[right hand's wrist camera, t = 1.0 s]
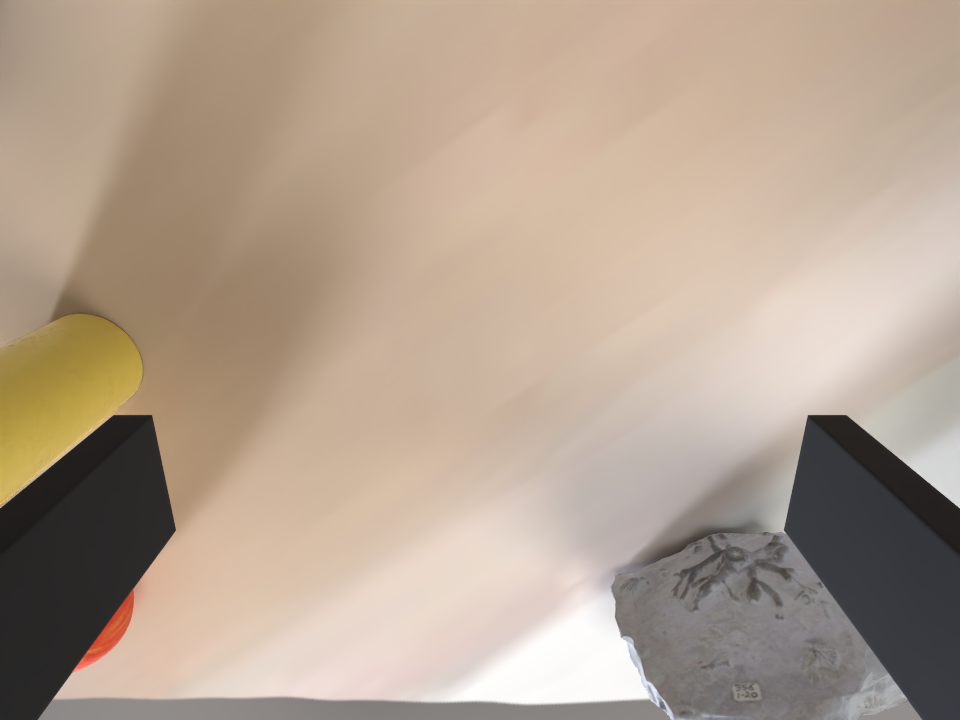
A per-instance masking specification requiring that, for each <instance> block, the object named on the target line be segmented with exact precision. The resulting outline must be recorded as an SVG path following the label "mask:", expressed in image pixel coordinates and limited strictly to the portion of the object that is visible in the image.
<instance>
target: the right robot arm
mask: <svg viewBox="0 0 960 720" xmlns="http://www.w3.org/2000/svg"><path fill="white" fill-rule="evenodd" d="M175 531H176V528H175V523H174V519H173V514H172V509H171V504H170V499H169V495H168V490H167V485H166V480H165V475H164V471H163V466H162V461H161V456H160V451H159V446H158V442H157V437H156V432H155V427H154V422H153V418H152V415H113V416H112V417H111V418H110V419H109V420H107V421H106V422H105V423H104V424H102V425H101V426H100V427H99V428H98V429H96V430H95V431H94V432H93V433H92V434H90V435H89V436H88V437H87V438H85V439H84V440H83V441H82V442H81V443H79V444H78V445H77V446H76V447H74V448H73V449H72V450H71V451H70V452H68V453H67V454H66V455H65V456H64V457H62V458H61V459H60V460H59V461H57V462H56V463H55V464H54V465H53V466H51V467H50V468H49V469H48V470H47V471H45V472H44V473H43V474H42V475H40V476H39V477H38V478H37V479H36V480H34V481H33V482H32V483H31V484H29V485H28V486H27V487H26V488H25V489H23V490H22V491H21V492H20V493H19V494H17V495H16V496H15V497H14V498H12V499H11V500H10V501H9V502H8V503H6V504H5V505H4V506H3V507H2V508H0V720H38V718H39V717H40V716H41V714H42V713H43V711H44V710H45V709H46V707H47V706H48V705H49V703H50V702H51V701H52V699H53V698H54V696H55V695H56V694H57V692H58V691H59V690H60V688H61V687H62V686H63V684H64V683H65V681H66V680H67V679H68V677H69V676H70V675H71V673H72V672H73V670H74V669H75V668H76V666H77V665H78V664H79V662H80V661H81V660H82V658H83V657H84V655H85V654H86V653H87V651H88V650H89V649H90V647H91V646H92V644H93V643H94V642H95V640H96V639H97V638H98V636H99V635H100V634H101V632H102V631H103V629H104V628H105V627H106V625H107V624H108V623H109V621H110V620H111V618H112V617H113V616H114V614H115V613H116V612H117V610H118V609H119V608H120V606H121V605H122V603H123V602H124V601H125V599H126V598H127V597H128V595H129V594H130V592H131V591H132V590H133V588H134V587H135V586H136V584H137V583H138V582H139V580H140V579H141V577H142V576H143V575H144V573H145V572H146V571H147V569H148V568H149V566H150V565H151V564H152V562H153V561H154V560H155V558H156V557H157V556H158V554H159V553H160V551H161V550H162V549H163V547H164V546H165V545H166V543H167V542H168V540H169V539H170V538H171V536H172V535H173V534H174V532H175ZM784 531H785V532H786V534H787V535H788V536H789V538H790V539H791V540H792V542H793V543H794V545H795V546H796V547H797V549H798V550H799V551H800V553H801V554H802V556H803V557H804V558H805V560H806V561H807V562H808V564H809V565H810V566H811V568H812V569H813V571H814V572H815V573H816V575H817V576H818V577H819V579H820V580H821V582H822V583H823V584H824V586H825V587H826V588H827V590H828V591H829V592H830V594H831V595H832V597H833V598H834V599H835V601H836V602H837V603H838V605H839V606H840V608H841V609H842V610H843V612H844V613H845V614H846V616H847V617H848V618H849V620H850V621H851V623H852V624H853V625H854V627H855V628H856V629H857V631H858V632H859V634H860V635H861V636H862V638H863V639H864V640H865V642H866V643H867V644H868V646H869V647H870V649H871V650H872V651H873V653H874V654H875V655H876V657H877V658H878V660H879V661H880V662H881V664H882V665H883V666H884V668H885V669H886V670H887V672H888V673H889V675H890V676H891V677H892V679H893V680H894V681H895V683H896V684H897V686H898V687H899V688H900V690H901V691H902V692H903V694H904V695H905V696H906V698H907V699H908V701H909V702H910V703H911V705H912V706H913V707H914V709H915V710H916V712H917V713H918V714H919V716H920V717H921V718H922V720H960V508H958V507H957V506H956V505H955V504H954V503H952V502H951V501H950V500H949V499H948V498H946V497H945V496H944V495H943V494H941V493H940V492H939V491H938V490H937V489H935V488H934V487H933V486H932V485H931V484H929V483H928V482H927V481H926V480H924V479H923V478H922V477H921V476H920V475H918V474H917V473H916V472H915V471H913V470H912V469H911V468H910V467H909V466H907V465H906V464H905V463H904V462H903V461H901V460H900V459H899V458H898V457H896V456H895V455H894V454H893V453H892V452H890V451H889V450H888V449H887V448H886V447H884V446H883V445H882V444H881V443H879V442H878V441H877V440H876V439H875V438H873V437H872V436H871V435H870V434H868V433H867V432H866V431H865V430H864V429H862V428H861V427H860V426H859V425H858V424H856V423H855V422H854V421H853V420H851V419H850V418H849V417H848V416H847V415H808V418H807V422H806V427H805V432H804V437H803V442H802V446H801V451H800V456H799V461H798V466H797V471H796V475H795V480H794V485H793V490H792V495H791V499H790V504H789V509H788V514H787V519H786V523H785V528H784Z"/></svg>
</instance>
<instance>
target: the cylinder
mask: <svg viewBox="0 0 960 720" xmlns="http://www.w3.org/2000/svg"><path fill="white" fill-rule="evenodd" d="M142 376H143V364H142V360H141V356H140V353H139V351H138V349H137V347H136V345H135V344H134V342H133V341H132V340H131V338H130V337H129V336H128V335H127V334H126V333H125V332H124V331H123V330H122V329H121V328H119V327H118V326H117V325H115V324H113V323H112V322H110V321H108V320H106V319H104V318H101V317H98V316H94V315H90V314H71V315H67V316H64V317H61V318H59V319H57V320H55V321H53V322H51V323H49V324H47V325H45V326H43V327H41V328H39V329H37V330H35V331H33V332H31V333H29V334H27V335H25V336H23V337H21V338H19V339H17V340H15V341H13V342H11V343H8V344H6V345H4V346H2V347H0V505H1V504H2V503H3V502H4V501H6V500H7V499H8V498H9V497H10V496H12V495H13V494H14V493H15V492H17V491H18V490H19V489H20V488H21V487H23V486H24V485H25V484H26V483H27V482H29V481H30V480H31V479H32V478H34V477H35V476H36V475H37V474H38V473H40V472H41V471H42V470H43V469H44V468H46V467H47V466H48V465H49V464H51V463H52V462H53V461H54V460H55V459H57V458H58V457H59V456H60V455H61V454H63V453H64V452H65V451H66V450H68V449H69V448H70V447H71V446H72V445H74V444H75V443H76V442H77V441H78V440H80V439H81V438H82V437H83V436H85V435H86V434H87V433H88V432H89V431H91V430H92V429H93V428H94V427H95V426H97V425H98V424H99V423H100V422H102V421H103V420H104V419H105V418H106V417H108V416H109V415H110V414H111V413H112V412H114V411H115V410H116V409H117V408H119V407H120V406H121V405H122V404H123V403H125V402H126V401H127V400H128V399H129V398H131V397H132V396H133V395H134V394H135V393H136V391H137V390H138V388H139V386H140V384H141V381H142Z"/></svg>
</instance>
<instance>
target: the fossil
mask: <svg viewBox="0 0 960 720" xmlns="http://www.w3.org/2000/svg"><path fill="white" fill-rule="evenodd" d="M615 577H616V579H615V581H614V583H613V584H612V586H611V592H612V594H613V596H614V598H615V600H616V612H615V619H616V621H617V624H618V628H619V632H620V635H621V638H623V639H624V640H626V641H627V644H628V650H629V654H630V658H631V660H632V662H633V664H634V665H635V667H637V668H638V672H639V674H640V676H641V682H642V684H643V685H644V687H645V689H646V690H647V691H648V694H649V697H650V699H651V701H652V702H654V703H655V704H656V705H657V706H659V707H660V709H662V710H664V711H665V712H666V714H668V715H669V716H670V718H671V720H859V718H860V716H861V715H871V714H877V713H879V712H881V711H883V710H887V709H889V708H892V707H895V706H899V705H901V704H903V703H905V702H906V701H908V699H907V698H906V696H905V695H904V694H903V692H902V691H901V690H900V688H899V687H898V686H897V684H896V683H895V681H894V680H893V679H892V677H891V676H890V675H889V673H888V672H887V670H886V669H885V668H884V666H883V665H882V664H881V662H880V661H879V660H878V658H877V657H876V655H875V654H874V653H873V651H872V650H871V649H870V647H869V646H868V644H867V643H866V642H865V640H864V639H863V638H862V636H861V635H860V634H859V632H858V631H857V629H856V628H855V627H854V625H853V624H852V623H851V621H850V620H849V618H848V617H847V616H846V614H845V613H844V612H843V610H842V609H841V608H840V606H839V605H838V603H837V602H836V601H835V599H834V598H833V597H832V595H831V594H830V592H829V591H828V590H827V588H826V587H825V586H824V584H823V583H822V582H821V580H820V579H819V577H818V576H817V575H816V573H815V572H814V571H813V569H812V568H811V566H810V565H809V564H808V562H807V561H806V560H805V558H804V557H803V556H802V554H801V553H800V551H799V550H798V549H797V547H796V546H795V545H794V543H793V542H792V540H791V539H790V538H789V536H788V535H787V534H784V533H782V532H779V533H768V532H764V533H760V534H743V533H717V534H711V535H708V536H706V537H705V538H703V539H700V540H698V541H697V542H692V543H690V544H688V545H687V547H686V548H685V549H684V550H682V551H681V552H679V553H676V554H674V555H671V556H668V557H665V558H662V559H660V560H659V561H657V562H656V563H652V564H649V565H647V566H646V567H644V568H643V569H641V570H638V571H635V572H633V573H622V574H619V575H616V576H615Z"/></svg>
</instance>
